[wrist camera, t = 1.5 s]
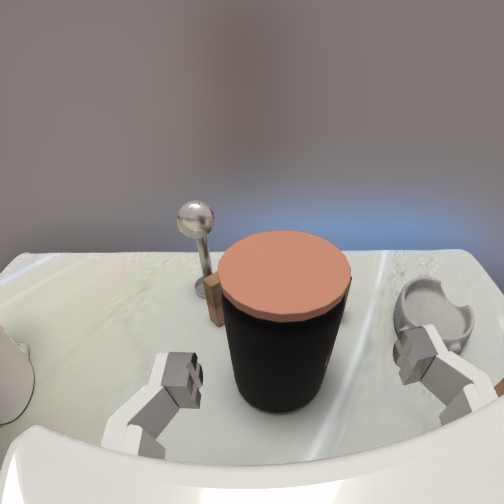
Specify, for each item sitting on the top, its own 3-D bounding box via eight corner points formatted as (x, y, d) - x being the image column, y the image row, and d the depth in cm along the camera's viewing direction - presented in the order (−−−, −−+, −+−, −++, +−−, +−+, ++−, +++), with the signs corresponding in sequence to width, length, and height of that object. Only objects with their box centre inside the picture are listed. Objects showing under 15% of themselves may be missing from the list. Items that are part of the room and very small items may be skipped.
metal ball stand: (193, 298, 45) (173, 207, 35) (198, 279, 49) (182, 192, 39) (223, 299, 44) (209, 205, 35) (226, 279, 48) (215, 190, 39)
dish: (407, 287, 44) (415, 265, 41) (469, 320, 35) (481, 299, 33) (373, 337, 36) (382, 314, 33) (447, 381, 27) (464, 361, 25)
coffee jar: (332, 403, 28) (375, 297, 18) (243, 423, 27) (222, 326, 17) (307, 338, 37) (322, 224, 27) (231, 351, 36) (212, 237, 26)
